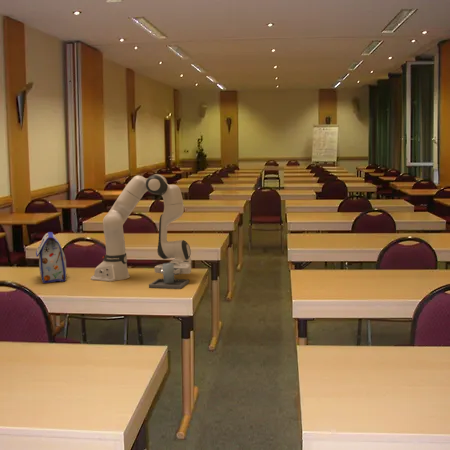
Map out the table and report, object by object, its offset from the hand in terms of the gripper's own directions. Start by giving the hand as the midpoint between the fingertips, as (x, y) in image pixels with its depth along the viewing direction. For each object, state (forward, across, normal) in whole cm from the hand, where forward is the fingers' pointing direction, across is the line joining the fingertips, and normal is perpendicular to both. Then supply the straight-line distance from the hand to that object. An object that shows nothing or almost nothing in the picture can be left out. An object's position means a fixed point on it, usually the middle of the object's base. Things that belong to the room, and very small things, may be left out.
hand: (168, 272), depth 349 cm
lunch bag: (-7, -75, +8) cm, 76 cm away
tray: (-1, 0, +8) cm, 8 cm away
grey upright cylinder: (-1, 0, +6) cm, 6 cm away
